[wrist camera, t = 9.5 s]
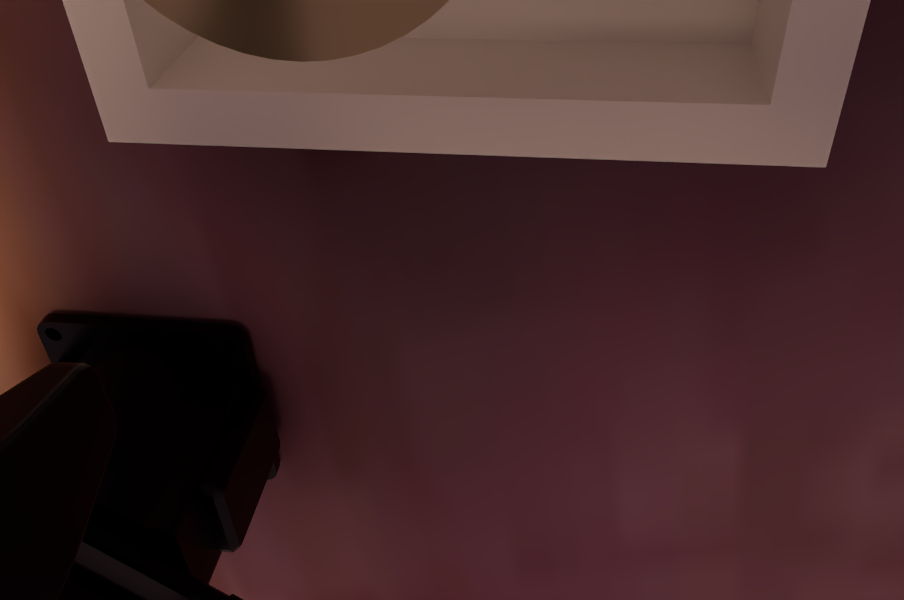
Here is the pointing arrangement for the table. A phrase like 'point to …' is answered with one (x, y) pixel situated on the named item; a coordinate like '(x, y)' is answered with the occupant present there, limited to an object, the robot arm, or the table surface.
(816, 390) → the table surface
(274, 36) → the brass peg
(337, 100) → the tray
